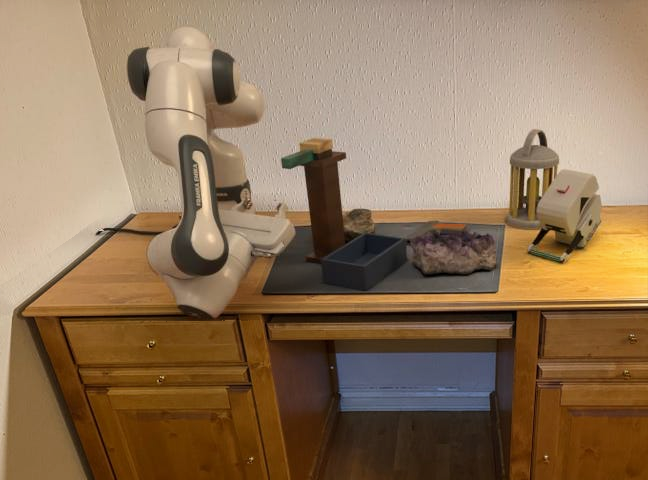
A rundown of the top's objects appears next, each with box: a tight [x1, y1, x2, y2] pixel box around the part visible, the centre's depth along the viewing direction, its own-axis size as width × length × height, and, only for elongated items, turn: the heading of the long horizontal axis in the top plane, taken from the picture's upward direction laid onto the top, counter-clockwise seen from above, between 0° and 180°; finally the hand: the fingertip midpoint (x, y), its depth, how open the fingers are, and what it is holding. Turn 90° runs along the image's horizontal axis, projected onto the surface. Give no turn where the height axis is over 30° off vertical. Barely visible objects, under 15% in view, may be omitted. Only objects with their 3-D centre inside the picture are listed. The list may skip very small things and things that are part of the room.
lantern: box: [505, 128, 560, 230], centre depth 180 cm, size 14×14×25 cm
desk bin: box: [320, 233, 408, 292], centre depth 155 cm, size 12×20×6 cm, turn 154°
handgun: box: [406, 219, 468, 246], centre depth 176 cm, size 2×16×12 cm
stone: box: [342, 208, 376, 242], centre depth 176 cm, size 14×10×10 cm
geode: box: [410, 230, 497, 275], centre depth 155 cm, size 20×12×10 cm, turn 96°
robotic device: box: [526, 168, 603, 264], centre depth 163 cm, size 10×21×20 cm
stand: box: [299, 150, 347, 264], centre depth 160 cm, size 8×10×25 cm
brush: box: [280, 137, 334, 170], centre depth 148 cm, size 15×5×4 cm, turn 154°
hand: (266, 202), depth 140 cm, fingers open, 8 cm apart
